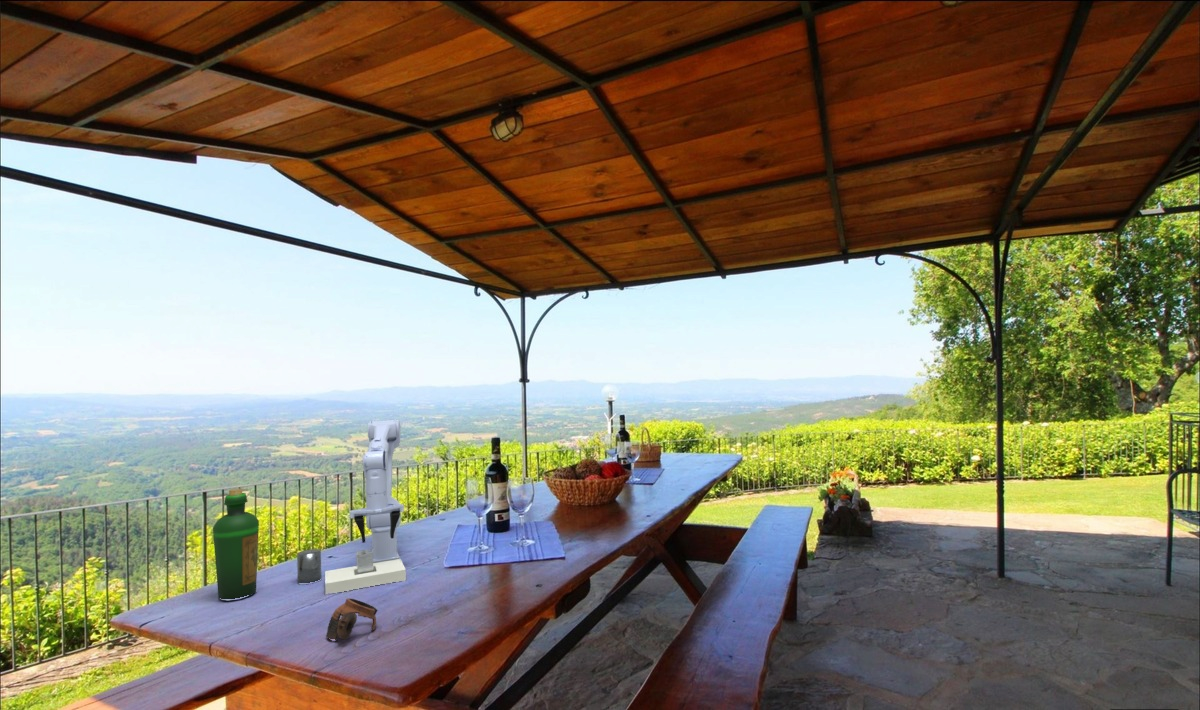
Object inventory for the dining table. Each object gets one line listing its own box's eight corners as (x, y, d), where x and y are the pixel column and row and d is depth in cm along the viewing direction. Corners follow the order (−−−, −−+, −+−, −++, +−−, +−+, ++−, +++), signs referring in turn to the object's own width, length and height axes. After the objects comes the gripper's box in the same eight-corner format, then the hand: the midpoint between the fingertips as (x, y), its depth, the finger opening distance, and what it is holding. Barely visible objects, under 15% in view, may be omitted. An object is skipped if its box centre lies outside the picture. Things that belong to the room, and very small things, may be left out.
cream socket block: (325, 582, 162) (325, 571, 162) (400, 569, 170) (400, 558, 170) (325, 595, 151) (325, 583, 151) (406, 580, 159) (405, 569, 160)
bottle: (266, 594, 154) (264, 488, 155) (219, 607, 146) (217, 495, 147) (253, 586, 161) (251, 484, 162) (208, 598, 153) (206, 491, 154)
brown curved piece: (326, 632, 129) (345, 594, 132) (367, 647, 129) (385, 609, 133) (314, 639, 118) (335, 598, 121) (358, 656, 118) (378, 614, 121)
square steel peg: (357, 580, 162) (356, 551, 162) (372, 577, 163) (371, 549, 164) (358, 584, 158) (357, 555, 158) (373, 582, 160) (372, 552, 160)
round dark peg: (298, 579, 165) (297, 551, 165) (321, 575, 167) (320, 547, 168) (297, 586, 159) (296, 556, 160) (321, 581, 162) (320, 552, 162)
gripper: (350, 497, 162) (351, 547, 161) (404, 491, 168) (405, 538, 168) (349, 494, 168) (350, 541, 168) (401, 487, 175) (402, 533, 174)
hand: (378, 539), depth 168 cm, fingers open, 7 cm apart
